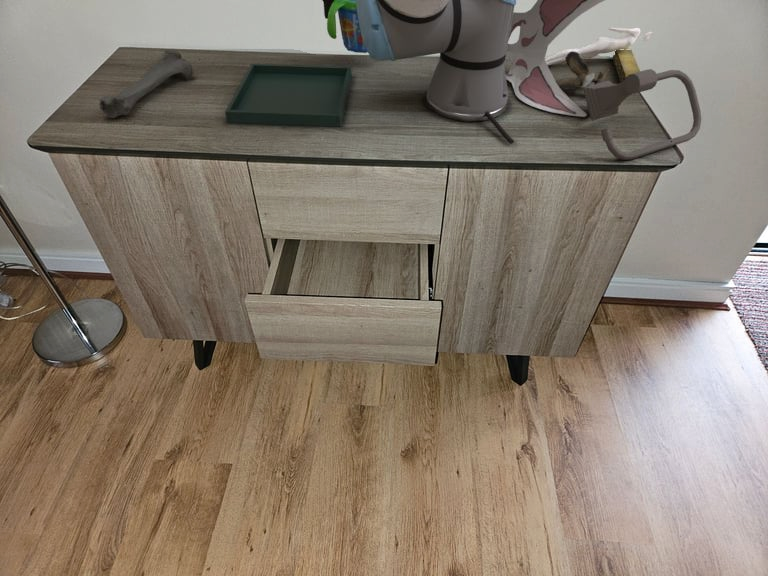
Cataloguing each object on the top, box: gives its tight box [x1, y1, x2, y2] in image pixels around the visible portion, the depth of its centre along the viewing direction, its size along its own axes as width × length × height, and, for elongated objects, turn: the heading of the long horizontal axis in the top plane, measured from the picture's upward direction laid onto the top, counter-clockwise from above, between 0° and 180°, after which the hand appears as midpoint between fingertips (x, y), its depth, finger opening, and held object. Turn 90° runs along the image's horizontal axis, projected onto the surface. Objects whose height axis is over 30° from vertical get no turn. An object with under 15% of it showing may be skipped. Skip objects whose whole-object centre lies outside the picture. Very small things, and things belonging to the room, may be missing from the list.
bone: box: [98, 48, 194, 119], centre depth 98 cm, size 22×6×6 cm, turn 159°
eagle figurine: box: [556, 52, 610, 90], centre depth 102 cm, size 8×7×9 cm
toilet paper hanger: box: [582, 68, 702, 161], centre depth 91 cm, size 22×11×15 cm
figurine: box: [544, 27, 653, 67], centre depth 110 cm, size 10×4×25 cm
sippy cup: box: [326, 0, 368, 54], centre depth 105 cm, size 16×10×10 cm
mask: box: [505, 0, 606, 118], centre depth 103 cm, size 23×12×30 cm
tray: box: [224, 63, 353, 128], centre depth 99 cm, size 20×20×2 cm
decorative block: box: [612, 49, 641, 83], centre depth 109 cm, size 15×2×4 cm
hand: (361, 36), depth 107 cm, fingers closed on sippy cup, 11 cm apart
